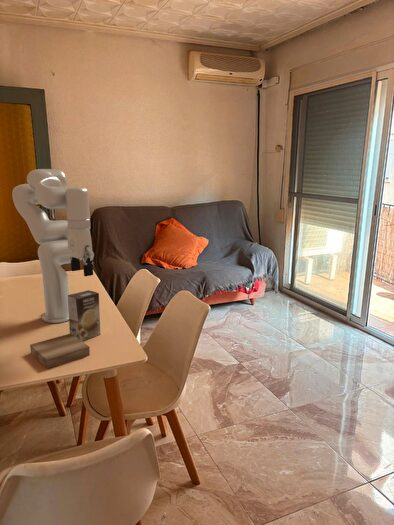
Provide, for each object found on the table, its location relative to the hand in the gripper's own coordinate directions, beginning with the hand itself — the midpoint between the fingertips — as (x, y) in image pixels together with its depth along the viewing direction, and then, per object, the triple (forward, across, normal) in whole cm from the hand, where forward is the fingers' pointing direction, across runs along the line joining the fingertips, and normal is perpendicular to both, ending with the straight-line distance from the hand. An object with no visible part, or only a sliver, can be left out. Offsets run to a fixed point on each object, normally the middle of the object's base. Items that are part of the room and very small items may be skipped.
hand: (82, 273), depth 139 cm
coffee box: (+24, 0, 0) cm, 24 cm away
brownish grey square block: (+24, +8, -13) cm, 28 cm away
